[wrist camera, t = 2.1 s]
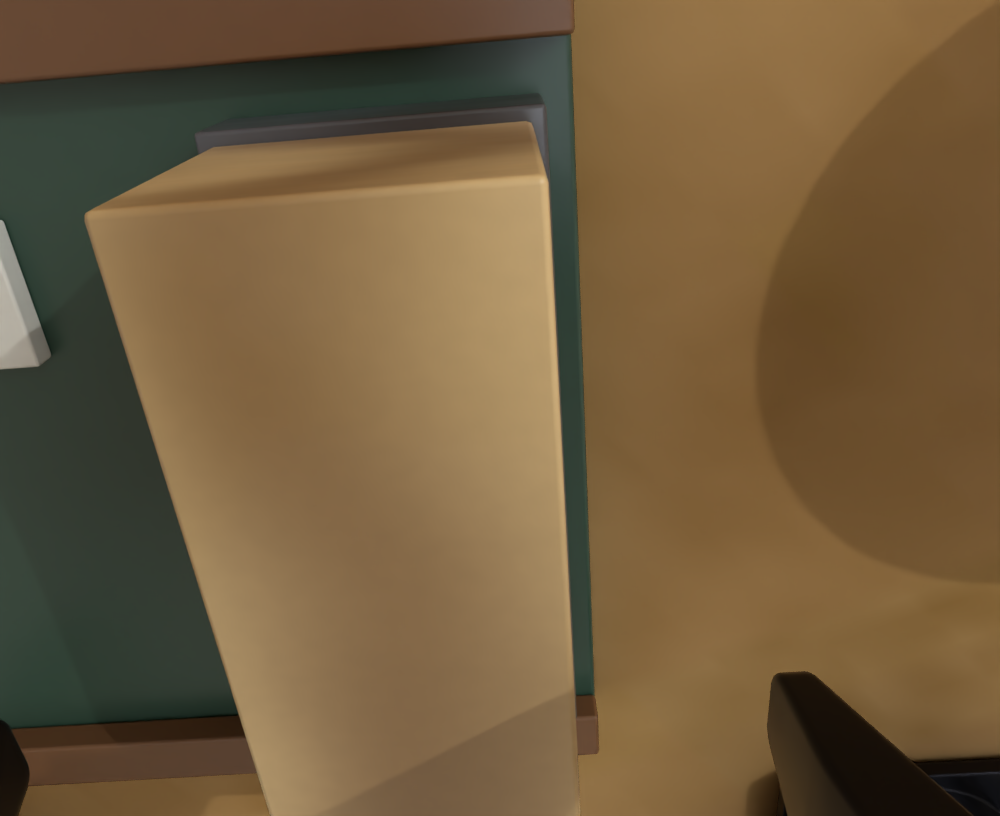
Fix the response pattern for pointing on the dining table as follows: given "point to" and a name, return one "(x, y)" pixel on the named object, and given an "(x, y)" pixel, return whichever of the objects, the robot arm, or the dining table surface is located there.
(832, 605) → the dining table surface
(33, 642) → the slate board
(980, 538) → the dining table surface
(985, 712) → the dining table surface
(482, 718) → the eraser
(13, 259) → the white rectangular block
